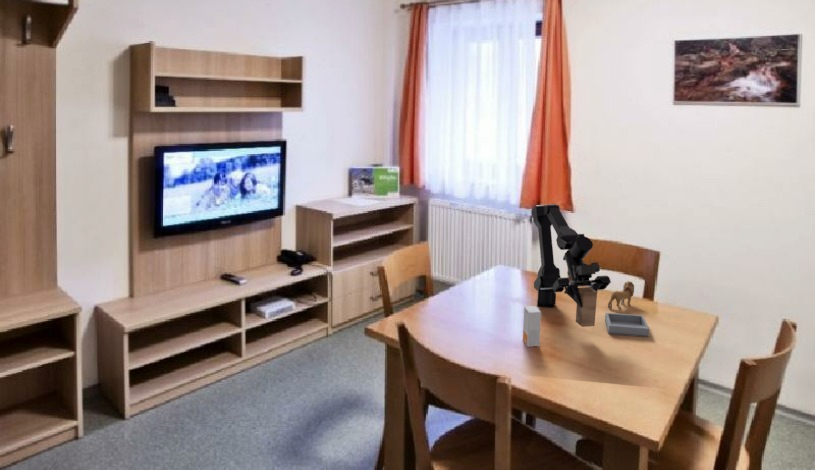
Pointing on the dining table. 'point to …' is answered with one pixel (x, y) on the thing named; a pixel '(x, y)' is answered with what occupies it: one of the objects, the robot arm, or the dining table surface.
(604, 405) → the dining table surface
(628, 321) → the tray
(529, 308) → the skincare box
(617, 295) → the lion figurine
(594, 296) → the walnut block
